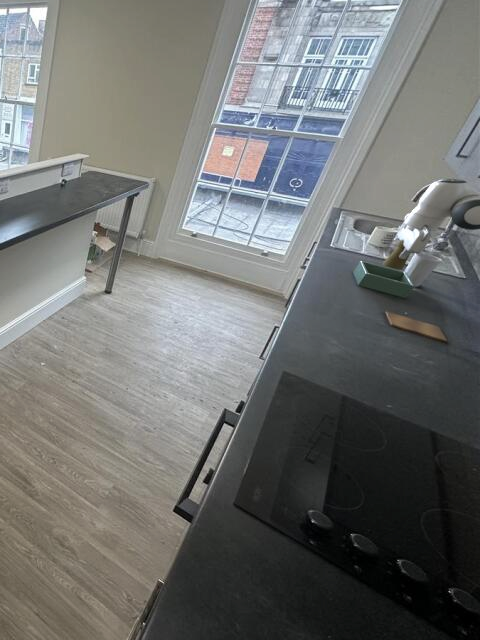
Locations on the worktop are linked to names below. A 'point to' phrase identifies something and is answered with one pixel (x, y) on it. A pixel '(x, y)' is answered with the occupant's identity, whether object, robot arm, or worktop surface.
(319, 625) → the worktop surface
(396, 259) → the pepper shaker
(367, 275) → the basin
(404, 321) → the mat
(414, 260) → the cup
